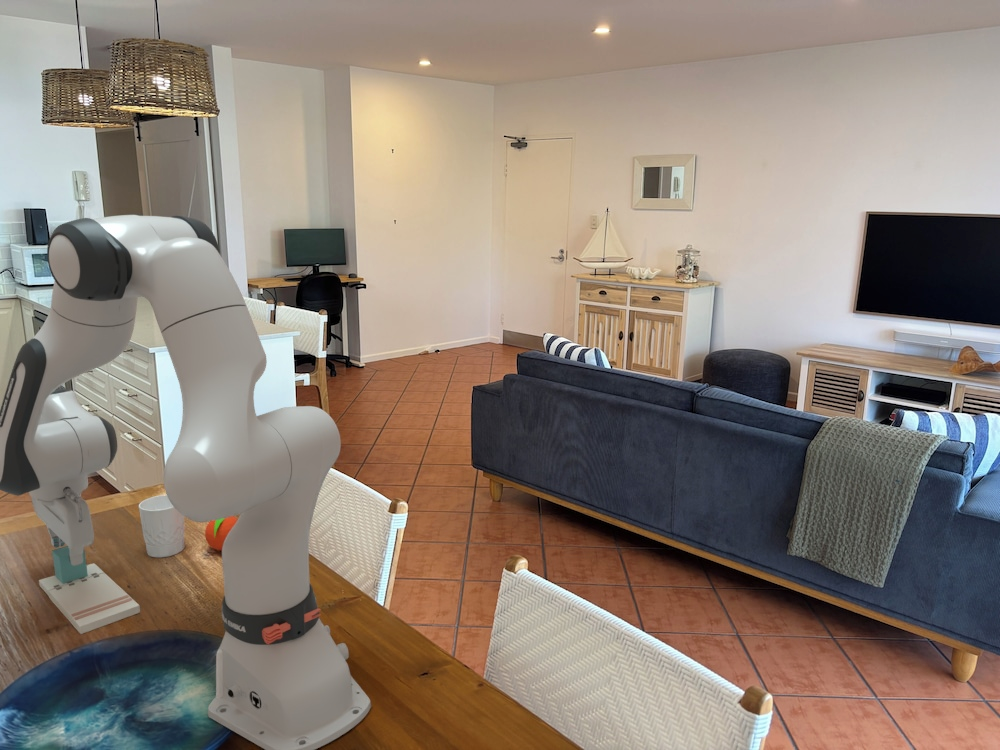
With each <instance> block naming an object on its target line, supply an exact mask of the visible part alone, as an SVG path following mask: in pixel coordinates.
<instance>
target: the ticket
mask: <svg viewBox="0 0 1000 750" xmlns="http://www.w3.org/2000/svg"><path fill="white" fill-rule="evenodd" d="M48 594H49V596H48V598H49V599H50V601H51V602H52V603H53V604H54V605H55V606H56V608H57V609H58V610H59V611H60V612H61V613H62V614H63V616H64V617H65V618H66V619H67V620H68V621H69V622H70V624H71V625H72V626H73V627H74V628H75V629H76V631H77V632H78V633H79V634H80V635H83V634H85V633H88V632H90V631H93V630H96V629H99V628H101V627H105V626H107V625H109V624H112V623H115V622H118V621H121V620H122V619H123V620H124V619H126V618H128V617H132V616H134V615H137V614H139V613H141V608H140V604H139V603H137V602H136V600H135V599H133V598H132V597H131V596H130V595H129V594H128V593H127V591H125V590H124V589H123V588H121V587H120V586H119V585H118V583H116V582H115V581H114V580H113V579H112V578H111V577H110V576H109V575H108V574H106V573H105V572H104V573H103V574H99V575H96V576H93V577H90V578H87V579H84V580H81V581H78V582H74V583H71V584H68V585H65V586H62V587H59V588H56V589H53V590H50V591H48Z"/></svg>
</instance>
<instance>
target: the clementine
mask: <svg viewBox="0 0 1000 750" xmlns="http://www.w3.org/2000/svg"><path fill="white" fill-rule="evenodd" d="M238 519H239V518H237V517H236V516H232V517H227V518H223V519H219V520H213V521H208V523H207V525H206V527H205V532H204V536H205V541H206V543H207V544H208V545H209V546H210V547H211V548H212V549H214V550H217V551H221V552H222V547H223V543H224V541H225V539H226V537H227V535H228V533H229V532H230V530H231V529H232V528H233V526H234V525H235V524H236V522H237V520H238Z"/></svg>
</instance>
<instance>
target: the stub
mask: <svg viewBox="0 0 1000 750" xmlns="http://www.w3.org/2000/svg"><path fill="white" fill-rule="evenodd" d="M51 551H52V553H51V554H52V559H53V560H52V561H53V566H54V567H53V568H54V574H55V575H50V576H48V577H44V578H41V579H39V580H38V585H39V586H40V588H41V589H42V591H44V592H45V594H46V595H47V596H48V597H49V594H48V591H50V590H53V589H56V588H59V587H62V586H65V585H68V584H71V583H74V582H78V581H81V580H84V579H87V578H90V577H93V576H96V575H99V574H103V573H105V572H104V571H103V570H102V569H101V568H100V567H99V566H98V565H97V564H96V563H94V562H93V563H90V564H87V559H86V558H87V557H86V550H85V549H84V550H83V554H82V555H83V562H82V563H81V564H78V565H75V566H73V565H72V564H71V563H70V562H69V557H68V554H70V552H69V548H68V545H66V546H65V545H64V546H61V547H57V548H55V549H52V550H51Z"/></svg>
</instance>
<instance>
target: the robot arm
mask: <svg viewBox="0 0 1000 750" xmlns="http://www.w3.org/2000/svg"><path fill="white" fill-rule="evenodd" d="M46 257H47V265H48V267H49V271H50V274H51V276H52V278H53V280H54V283H53V287H52V293H51V301H50V302H51V303H50V309H49V312H48V315H47V317H46V319H45V320H44V323H43V324H42V325H41V327H40V329H39V330H38V331H37V332H36V334H35V335H34V336H33V337H32V338H31V339H30V340H27V342H25V343H24V344H23V345H22V346H21V348H20V349H19V351H18V353H17V355H16V358H15V361H14V363H13V367H12V369H11V371H10V372H11V373H10V377H9V379H8V382H7V385H6V389H5V393H4V395H3V399H2V402H1V405H0V491H2V492H4V493H7V494H10V495H13V496H17V497H18V496H21V495H25V494H29V496H30V498H31V502H32V503H31V504H32V507H33V510H34V512H35V515H36V516H37V518H39V520H41V521H42V522H43V523H44V525H46V528H47V531H48V534H49V536H50V537H49V538H50V544H51V545H52V546H53V547H54V548H55V549H58V548H60V547H64V546H65V545H66V546H68V548H69V552H70V554H68V557H69V562H70V563H71V564H72V565H73V566H75V565H78V564H81V563H82V562H83V555H82V554H83V550H85V547H87V546H91V545H93V543H94V540H95V533H94V526H93V520H92V515H91V510H90V508H89V504H88V503H87V501H86V500H85V499H84V498H83V497H82V492H83V491H85V490H86V489H87V488H88V487H89V481H88V479H89V478H88V475H89V474H93V473H96V472H99V471H102V470H104V469H106V468H108V467H109V466H110V465H111V464H112V463H113V461H114V459H115V457H116V454H117V452H118V438H117V433H116V430H115V427H114V426H113V424H112V423H110V422H109V421H108V420H107V419H104V418H103V417H101V416H99V415H95V414H91V413H90V412H89V411H87V410H86V409H84V408H83V407H82V406H81V404H80V403H79V400H78V399H77V395H76V392H75V391H73V390H72V389H68V388H59V387H61V386H62V385H65V383H67V382H69V381H71V380H72V379H74V378H77V377H79V376H81V375H83V374H85V373H88V372H90V371H93V370H95V369H98V368H100V367H103V366H104V365H106V364H109V363H110V362H113V361H114V360H116V358H117V357H119V356H120V355H121V354H123V352H124V351H125V350H126V349H127V347H128V345H129V343H130V341H131V338H132V337H133V333H134V328H135V323H136V316H137V309H138V308H137V307H138V298H141V297H142V298H145V299H146V300H147V301H148V302H149V304H150V305H151V308H152V311H153V314H154V317H155V319H156V323H157V325H158V328H159V331H160V333H161V336H162V338H163V341H164V344H165V347H166V349H167V352H168V355H169V357H170V360H171V363H172V365H173V369H174V372H175V375H176V377H177V381H178V383H179V388H180V393H181V399H182V417H181V418H182V420H181V427H180V432H179V434H178V439H177V441H176V443H175V445H174V447H173V449H172V450H171V452H170V453H169V455H168V457H167V459H166V462H165V464H164V469H163V486H164V491H165V493H166V494H165V495H167V496H168V499H169V500H170V502H171V504H172V505H173V506H174V508H175V509H176V510H177V511H178V512H179V513H181V514H182V515H183V516H184V518H186V519H188V520H190V521H192V522H195V523H206V522H208V523H209V522H210V521H213V520H219V519H223V518H227V517H232V516H233V517H236V516H238V515H239V516H238V518H237V519H238V520H237V522H236V524H235V525H234V526H233V528H232V529H231V530H230V532H229V533H228V535H227V537H226V539H225V541H224V543H223V547H222V551H221V560H222V561H221V562H222V575H223V588H224V596H223V597H222V602H221V618H222V625H223V628H224V630H225V632H224V635H223V638H222V641H221V642H220V645H219V647H218V649H217V652H216V655H215V656H216V657H215V661H216V663H215V664H216V666H215V669H216V671H215V697H214V698H213V699H212V700H211V702H209V705H208V708H207V716H208V718H210V719H211V720H213V721H215V722H217V723H218V724H220V725H222V726H224V727H225V728H227V729H228V730H231V731H232V732H234V733H236V734H237V735H239V736H241V737H243V738H244V739H245V740H247V741H250V742H251V743H254V745H256V746H258V747H260V748H261V749H264V750H317V749H318V748H321V747H324V746H325V745H327V744H329V743H332V742H333V741H335V740H336V739H338V738H340V737H341V736H342V735H343V736H344V735H345V734H346V733H347V732H349V731H350V730H351V729H353V728H354V727H356V726H357V725H358V724H359V723H360V722H362V721H363V719H364V718H365V717H366V716H367V715H368V713H369V712H370V710H371V707H372V703H371V699H370V697H369V696H368V695H367V694H366V692H365V691H364V690H363V689H362V687H361V686H360V685H359V684H358V682H357V681H356V680H355V678H353V676H352V675H351V671H350V668H349V664H348V663H347V661H346V660H348V659H349V655H350V653H349V649H348V645H346V643H345V642H341V643H338V644H336V643H335V641H334V639H333V638H332V636H331V628H330V626H329V625H328V624H326V625H324V623H323V622H322V621H321V619H320V616H321V615H322V614H321V613H320V611H321V610H322V609H321V607H318V603H317V600H318V599H317V598H316V597H317V596H316V594H315V593H314V589H313V586H312V584H311V583H310V561H309V560H310V554H309V553H310V552H309V551H310V550H309V549H310V547H309V544H310V543H309V541H310V531H311V527H312V526H311V524H312V520H313V517H314V512H315V509H316V505H317V502H318V498H319V495H320V493H321V492H320V491H321V489H322V486H323V483H324V482H325V480H326V477H327V476H328V474H329V472H330V471H331V469H332V467H333V466H334V464H335V463H336V462H337V460H338V458H339V456H340V452H341V445H342V444H341V443H342V441H341V439H342V438H341V435H340V431H339V429H338V426H337V424H336V423H335V420H334V419H333V418H332V417H331V416H330V414H329V413H327V412H326V411H325V410H323V409H322V408H320V407H317V406H311V405H306V406H303V405H302V406H301V405H299V406H298V405H297V406H295V405H294V406H285V407H280V408H278V409H275V410H272V411H269V412H265V413H262V414H259V415H257V413H256V408H255V399H254V398H255V397H254V395H255V393H254V392H255V389H256V384H257V382H258V381H259V380H260V378H261V377H262V376H263V375H264V373H265V371H266V368H267V354H266V352H265V349H264V347H263V344H262V341H261V339H260V337H259V334H258V332H257V329H256V326H255V324H254V322H253V318H252V317H251V316H252V315H251V313H250V311H249V309H248V306H247V304H246V301H245V299H244V296H243V294H242V292H241V290H240V288H239V286H238V284H237V281H236V280H235V278H234V276H233V274H232V272H231V270H230V269H229V267H228V266H227V263H226V261H225V260H224V259H223V256H221V253H220V246H219V243H218V241H217V238H216V236H215V234H214V232H213V231H212V230H211V228H210V227H209V226H208V225H207V224H205V222H203V221H201V220H199V219H197V218H192V217H189V216H181V215H172V216H160V215H138V214H123V215H121V214H119V215H111V216H103V217H98V218H94V219H93V218H90V217H83V218H78V219H74V220H71V221H68V222H64V223H62V224H60V225H58V226H57V227H55V229H54V230H53V231H52V233H51V236H50V238H49V240H48V243H47V249H46Z"/></svg>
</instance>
